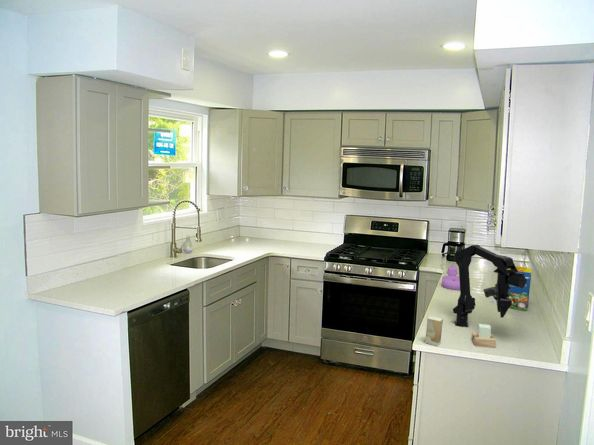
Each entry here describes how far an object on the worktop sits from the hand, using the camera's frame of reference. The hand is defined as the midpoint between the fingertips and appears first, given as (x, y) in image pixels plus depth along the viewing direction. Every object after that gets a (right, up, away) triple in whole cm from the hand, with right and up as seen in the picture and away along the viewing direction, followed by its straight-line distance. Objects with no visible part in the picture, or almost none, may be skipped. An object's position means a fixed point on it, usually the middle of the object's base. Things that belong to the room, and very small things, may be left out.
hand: (500, 314), depth 244 cm
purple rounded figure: (+9, +1, +105) cm, 105 cm away
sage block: (-10, -9, -7) cm, 15 cm away
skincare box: (-35, -12, -8) cm, 38 cm away
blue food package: (+32, -6, +55) cm, 64 cm away
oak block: (-11, -13, -6) cm, 18 cm away
